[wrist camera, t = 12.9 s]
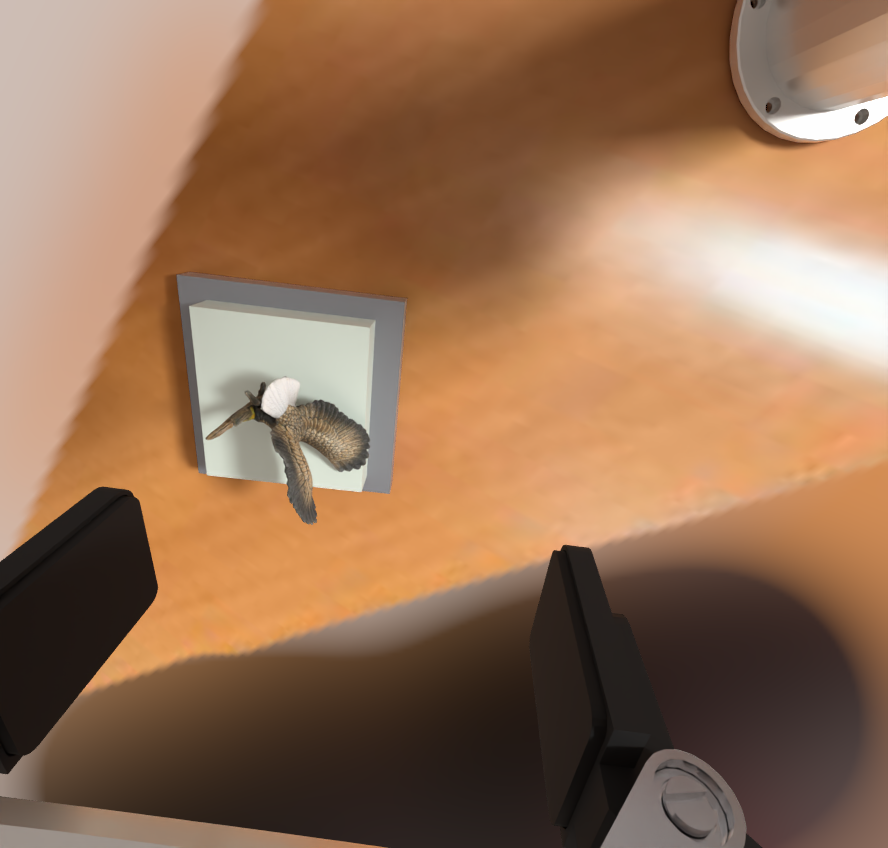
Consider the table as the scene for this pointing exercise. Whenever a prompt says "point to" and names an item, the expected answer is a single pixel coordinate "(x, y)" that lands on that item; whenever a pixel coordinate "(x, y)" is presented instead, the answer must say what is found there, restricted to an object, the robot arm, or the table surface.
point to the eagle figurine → (302, 436)
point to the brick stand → (290, 370)
